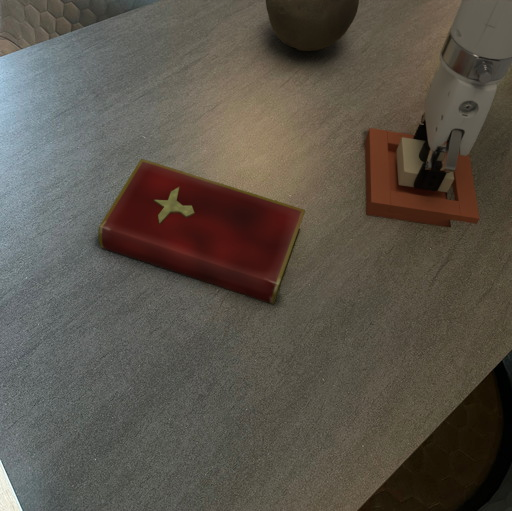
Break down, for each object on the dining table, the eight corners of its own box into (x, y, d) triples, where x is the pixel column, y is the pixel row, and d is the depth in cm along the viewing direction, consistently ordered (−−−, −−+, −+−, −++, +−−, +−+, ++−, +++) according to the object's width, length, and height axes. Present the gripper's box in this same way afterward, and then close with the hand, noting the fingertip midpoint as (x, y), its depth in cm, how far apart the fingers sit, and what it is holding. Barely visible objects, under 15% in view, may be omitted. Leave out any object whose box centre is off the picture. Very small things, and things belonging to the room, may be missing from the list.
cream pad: (442, 157, 85) (455, 133, 82) (447, 192, 81) (460, 168, 78) (396, 150, 85) (406, 125, 82) (398, 185, 81) (409, 160, 78)
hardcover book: (272, 307, 71) (278, 286, 67) (100, 250, 72) (97, 227, 69) (299, 230, 78) (305, 208, 75) (141, 180, 80) (141, 156, 76)
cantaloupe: (256, 18, 104) (268, -73, 92) (339, 24, 106) (361, -65, 94) (261, 71, 96) (275, -21, 84) (351, 77, 98) (377, -13, 86)
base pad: (460, 155, 90) (467, 143, 88) (472, 230, 81) (479, 218, 79) (364, 140, 89) (369, 127, 87) (366, 214, 81) (371, 202, 79)
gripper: (523, 109, 64) (457, 222, 78) (499, 14, 74) (444, 129, 88) (451, 98, 63) (398, 213, 78) (437, 4, 74) (392, 120, 88)
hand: (423, 167), depth 83 cm, fingers closed on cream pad, 6 cm apart
